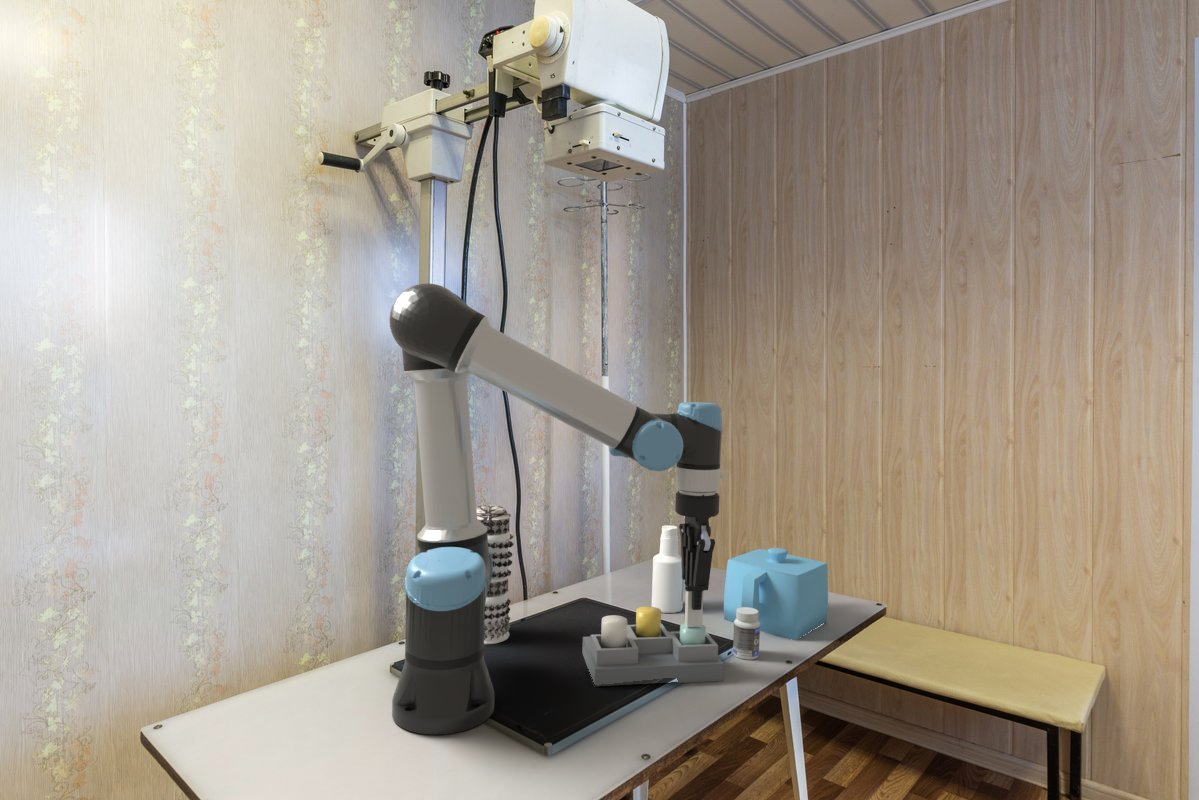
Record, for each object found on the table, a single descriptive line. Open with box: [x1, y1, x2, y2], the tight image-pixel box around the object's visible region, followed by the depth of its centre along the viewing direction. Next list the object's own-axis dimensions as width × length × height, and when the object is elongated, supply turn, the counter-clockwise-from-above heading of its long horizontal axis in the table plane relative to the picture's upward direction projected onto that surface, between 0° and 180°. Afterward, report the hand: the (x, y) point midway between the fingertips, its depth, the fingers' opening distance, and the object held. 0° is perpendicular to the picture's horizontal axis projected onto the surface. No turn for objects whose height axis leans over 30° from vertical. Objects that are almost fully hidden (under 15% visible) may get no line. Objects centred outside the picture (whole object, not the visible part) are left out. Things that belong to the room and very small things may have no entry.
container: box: [723, 547, 829, 641], centre depth 151 cm, size 17×25×15 cm
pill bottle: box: [732, 607, 761, 660], centre depth 132 cm, size 5×5×8 cm
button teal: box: [679, 622, 707, 645], centre depth 125 cm, size 4×4×4 cm
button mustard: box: [635, 605, 662, 637], centre depth 128 cm, size 4×4×4 cm
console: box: [581, 623, 725, 685], centre depth 126 cm, size 22×14×6 cm, turn 100°
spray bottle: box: [651, 524, 685, 614], centre depth 156 cm, size 7×7×18 cm
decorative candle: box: [476, 504, 514, 645], centre depth 138 cm, size 9×9×25 cm
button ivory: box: [600, 614, 628, 648], centre depth 123 cm, size 4×4×4 cm
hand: (693, 625), depth 125 cm, fingers closed
